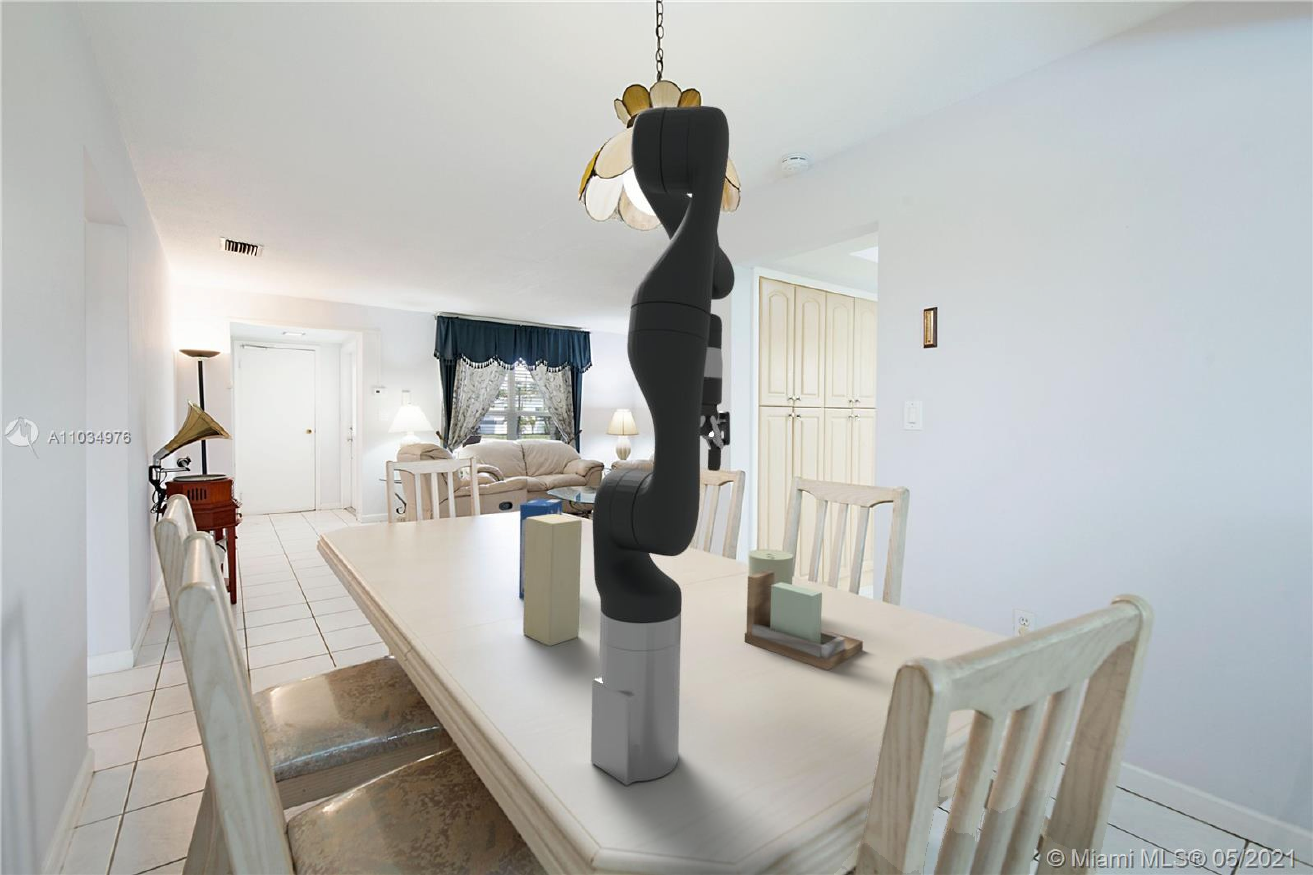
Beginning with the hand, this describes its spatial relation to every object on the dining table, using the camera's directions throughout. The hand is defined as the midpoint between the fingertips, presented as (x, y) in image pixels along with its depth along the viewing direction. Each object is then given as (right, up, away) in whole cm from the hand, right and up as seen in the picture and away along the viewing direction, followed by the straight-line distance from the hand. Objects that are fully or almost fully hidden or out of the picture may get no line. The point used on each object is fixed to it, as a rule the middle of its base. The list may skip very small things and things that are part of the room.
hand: (697, 471), depth 101 cm
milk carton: (-33, -29, +30) cm, 53 cm away
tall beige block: (-25, -30, +5) cm, 39 cm away
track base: (+18, -30, +2) cm, 35 cm away
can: (+16, -30, +21) cm, 40 cm away
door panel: (+17, -29, 0) cm, 33 cm away
